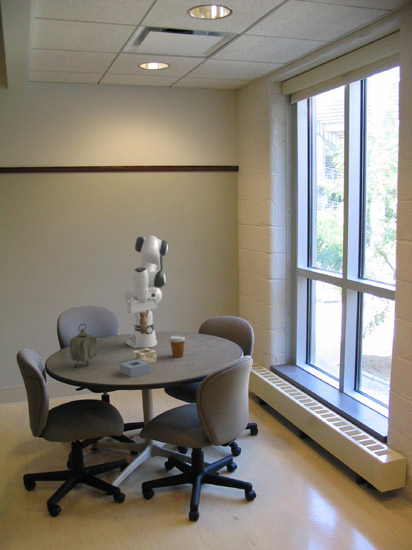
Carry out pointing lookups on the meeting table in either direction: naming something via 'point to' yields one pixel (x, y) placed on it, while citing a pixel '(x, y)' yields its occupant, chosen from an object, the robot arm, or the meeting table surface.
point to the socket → (134, 368)
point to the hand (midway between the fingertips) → (143, 318)
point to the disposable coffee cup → (177, 345)
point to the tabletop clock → (83, 347)
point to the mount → (145, 355)
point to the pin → (143, 323)
